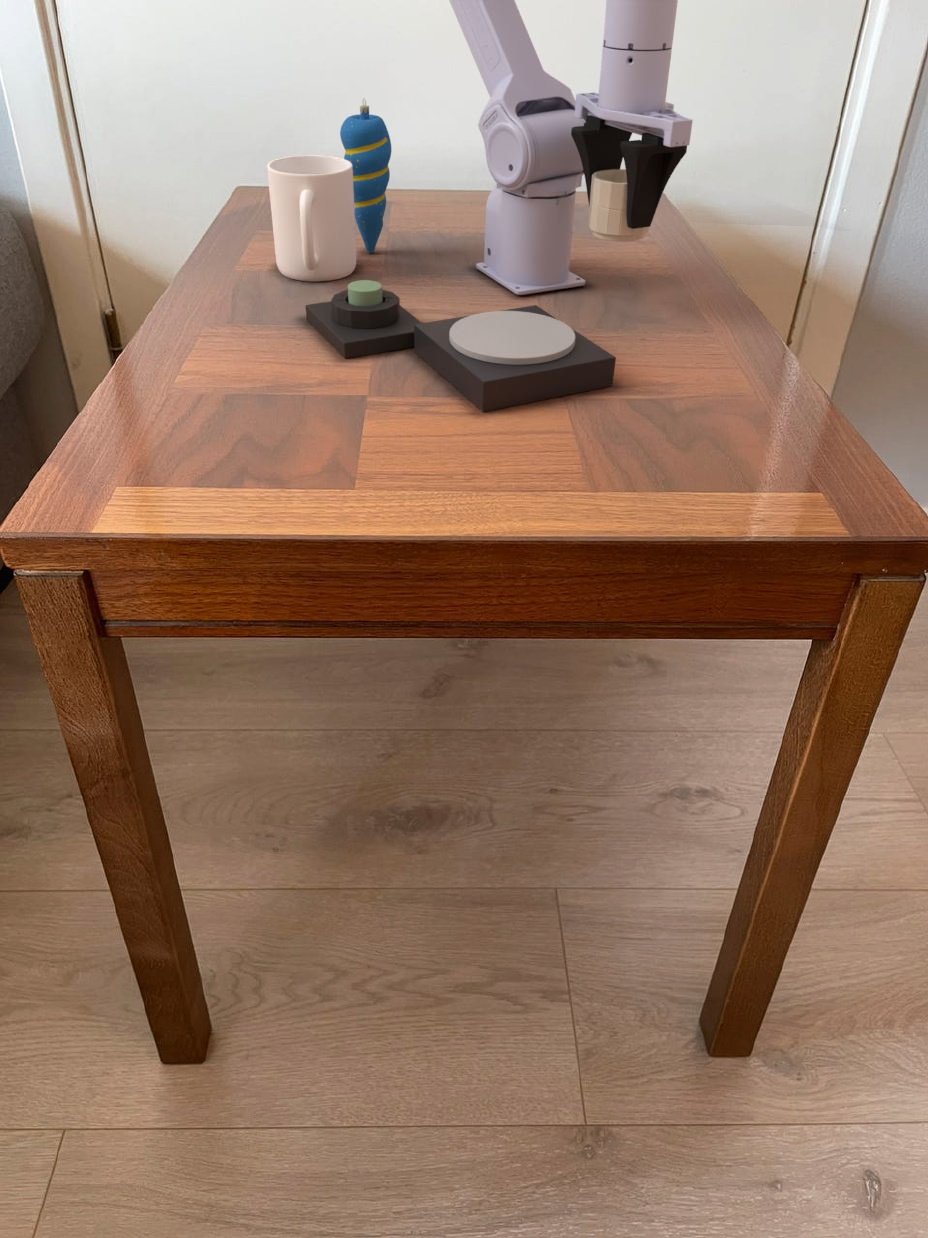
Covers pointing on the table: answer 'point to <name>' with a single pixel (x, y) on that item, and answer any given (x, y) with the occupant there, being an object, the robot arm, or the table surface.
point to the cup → (313, 216)
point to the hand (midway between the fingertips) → (619, 218)
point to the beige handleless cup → (611, 207)
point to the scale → (513, 357)
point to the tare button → (365, 293)
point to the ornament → (368, 170)
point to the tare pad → (363, 325)
